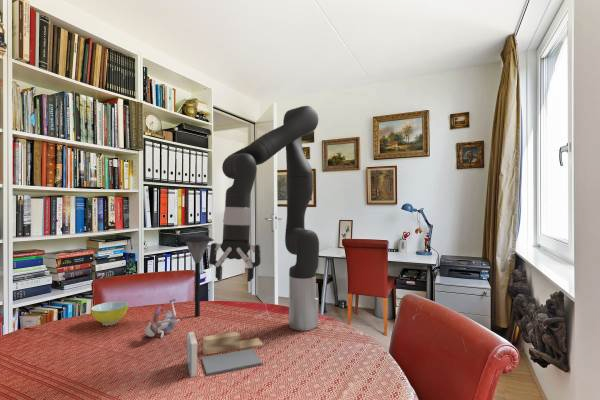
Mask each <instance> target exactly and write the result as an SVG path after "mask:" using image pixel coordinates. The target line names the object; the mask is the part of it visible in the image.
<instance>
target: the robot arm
mask: <svg viewBox="0 0 600 400" xmlns="http://www.w3.org/2000/svg"><path fill="white" fill-rule="evenodd" d="M318 125H319V114H318V112H317V110H316V109H315V108H313V107H312V106H309V105H302V106H299V107H295V108H291V109H289V110H287V111H285V113H284V115H283V124H282V125H280V126H278V127H276V128H274V129H272V130H270V131H268V132H266V133H264V134H262V135H260V137H258V138H257V139H255V140H254V141H252V142H251V143H249V144H248V145H247V146H245V147H243V148H241V149H239V150H237V151H235V152H233V153H231V154H229V155H228V156H227V157H226V158H225V159H224V161H223V163H222V166H221V168H222V172H223V174H224V176H226V177H227V178H228V179H230V180H233V182H232V185H231V186H229V187H228V188H227V189H226V191H225V198H224V199H225V201H224V202H225V204H224V212H223V219H222V224H223V227H222V242H221V243H217V242H212V243H210V251H209V259H208V263H209V265H212V266H214V267H215V276H214V277H215V278H216V279H217V281H221V280H222V279H223V266H222V265H223V263H224V262H225V261H226V260H227V259H228V260H233V259H235V260H240V261H241V260H243V262H244V263H245V264H246V265H247V267H248V268H247V278H246V279H247V282H251V281H252V280H253V279H254V278H255V277H254V275H255V274H254V272H255V268H256V267H259V266H260V265H261V262H262V261H261V245H260V243H257V244H251V243H250V237H251V236H250V234H251V233H250V232H251V231H250V230H251V209H250V208H251V194H252V190H253V186H254V184H255V183H254V182H255V179H256V176H257V172H258V171H257V166H258V165H262V164H264V163H266V162H267V161H268V160H270V159H271V158H272V157H273V156H275V155H276V154H277V153H278V152H280V151H281V150H283V149H284V148H285V156H286V157H285V158H286V159H285V161H286V224H285V233H284V245H285V248H286V251H288V253H289V254H291V255H295V256H296V261H295V264H294V265H291V266H290V267H289V270H288V277H289V278H288V283H289V284H288V285H289V286H288V291H289V292H288V310H289V311H288V314H289V315H288V327H289V328H291V329H292V330H295V331H311V330H313V329H315V328H317V327H319V298H318V297H317V270H318V267H319V259H320V258H319V256H320V255H319V254H320V240H319V237H318V234H317V233H316V232H315V231H314V230H312V229H305V227H306V226H305V216H306V211H307V208H308V206H309V203H310V201H311V199H312V196H313V192H314V174H313V169H312V167H311V164H310V163H309V161H308V159H307V157H306V156H305V153H304V151H303V141H302V139H303V138H302V137H303V136H305V135H308V134H310V133H312V132H313V131H315V130H316V128H317V127H318ZM220 249H221V251H222V252H223V254H222V255H221V256H220V257H219V259H218V260H217V255H218V254H217V253H218V251H220ZM250 250H252V252H253V254H254V261H253V260H252V259H251V257H250V255H249V254H248V252H249V251H250Z"/></svg>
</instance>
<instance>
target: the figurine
mask: <svg viewBox="0 0 600 400" xmlns="http://www.w3.org/2000/svg"><path fill="white" fill-rule="evenodd" d="M175 301H176V298H173V299H169V303H170V305H171V310H169V309H165V312H164V308H163V307H162V306H159V307H157V308H156V309H154V311H155V312H154V313H152V320H153V321H152V322H149V323H148V325H147V326H146V328H145V334H144V337H145V338H148V337H154V336H155V334H160V336H159V338H160V339H163V337H164V335H166V334H169V333H170V332H172V331H174V328H176V324H177V323H179V322H180V319H179V318H176V316H177V314H176V309H175V306H174V302H175ZM160 311H161V314H160ZM163 313H164V319H163V320H158V319H159V315H162V314H163Z"/></svg>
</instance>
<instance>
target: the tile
mask: <svg viewBox="0 0 600 400" xmlns="http://www.w3.org/2000/svg"><path fill="white" fill-rule="evenodd" d="M186 334H187V335H186V337H187V339H186V344H187V346H186V347H187V348H186V349H187V351H186V354H187V357H186V358H187V359H186V363H187V369H188V372H189V377H190V378H192V377H197V376H198V342H197V338H196V335H195V332H194V331H190V332H187V333H186Z"/></svg>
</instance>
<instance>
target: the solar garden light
mask: <svg viewBox="0 0 600 400" xmlns="http://www.w3.org/2000/svg"><path fill="white" fill-rule="evenodd" d="M213 241H215V239H213V238H211V237H210V236H208V235H205V234H191V235H188V236H186V237H184V238H183V239H181V240H180V243H186V246H187V249H188V250H189V252H190V255H191V258H192V259H193V262H194V317H196V318H197V317H200V315H201V310H200V309H201V300H200V299H201V262H202V259H203V257H204V254H205V251H206V250H207V247H208V245H209V243H210V242H213Z"/></svg>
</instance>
